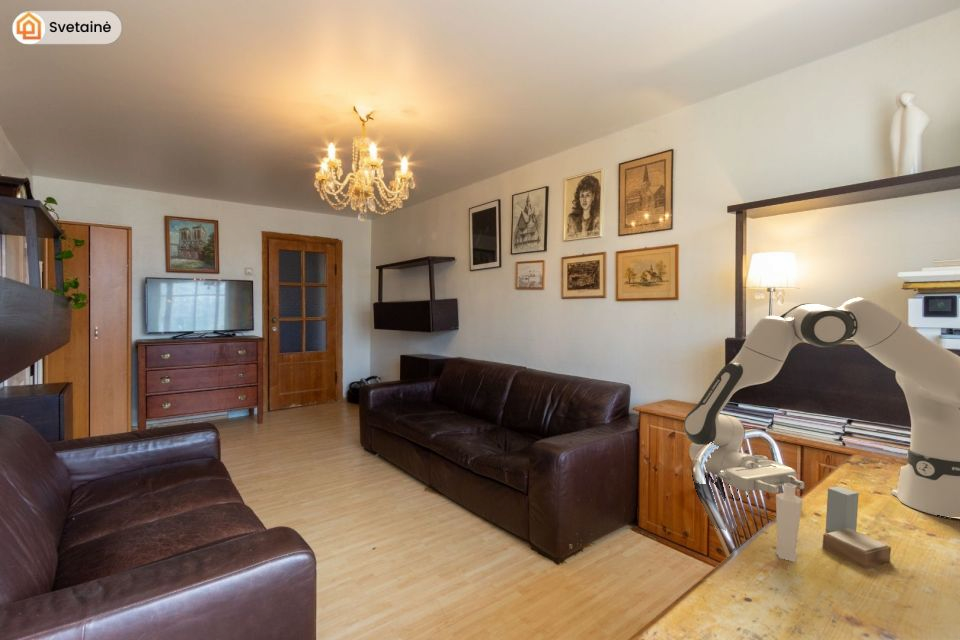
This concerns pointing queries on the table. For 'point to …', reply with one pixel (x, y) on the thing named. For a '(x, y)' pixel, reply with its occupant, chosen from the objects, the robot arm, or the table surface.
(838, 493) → the grey tall block
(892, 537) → the table surface
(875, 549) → the plinth
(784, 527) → the perfume bottle
